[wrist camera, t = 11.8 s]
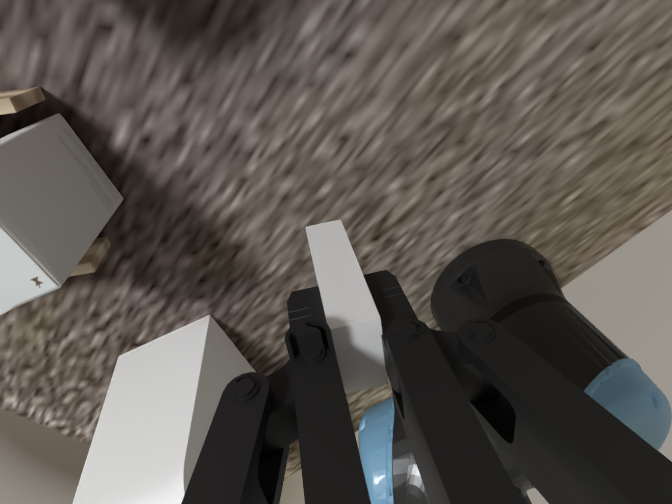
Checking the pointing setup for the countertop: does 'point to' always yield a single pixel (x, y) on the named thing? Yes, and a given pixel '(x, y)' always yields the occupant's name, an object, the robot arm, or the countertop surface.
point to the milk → (159, 416)
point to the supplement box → (47, 208)
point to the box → (24, 99)
